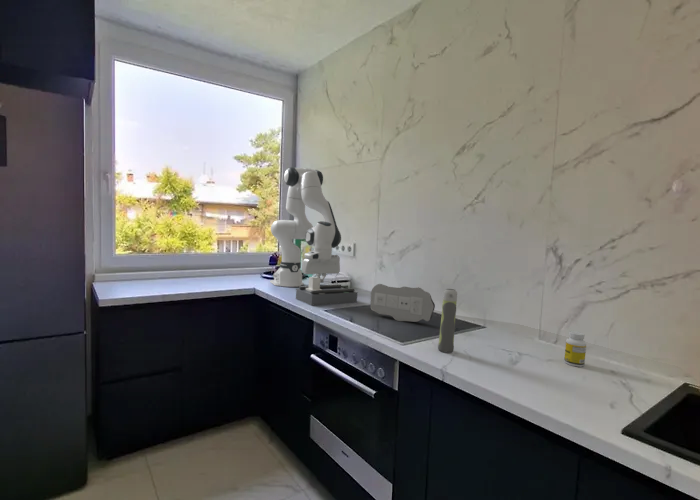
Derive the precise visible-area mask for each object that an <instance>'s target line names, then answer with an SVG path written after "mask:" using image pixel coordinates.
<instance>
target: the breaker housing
mask: <svg viewBox="0 0 700 500" xmlns="http://www.w3.org/2000/svg"><path fill="white" fill-rule="evenodd" d="M298 287H299V288H296V290H295V299H296V300H297V301H300V302H302V303H304V304H306V305H309V306H324V305H326V306H327V305H337V304H338V305H340V304H349V303H352V304H353V303H357V302H358V292H357V291H355V288H344V287H342V284H328V285H325V284H324V285H320V289H322V290H316V291H311V292H310V291H307V290H306V288H309V285H301V286H298Z"/></svg>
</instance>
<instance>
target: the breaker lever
mask: <svg viewBox="0 0 700 500" xmlns="http://www.w3.org/2000/svg"><path fill="white" fill-rule="evenodd" d="M320 278H321V277H320ZM320 278H318V277H317V276H309V277H308V286H309V288H306V290H307V291H310V292H311V291H316V290H322V289H320V286H321V283H320Z"/></svg>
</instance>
